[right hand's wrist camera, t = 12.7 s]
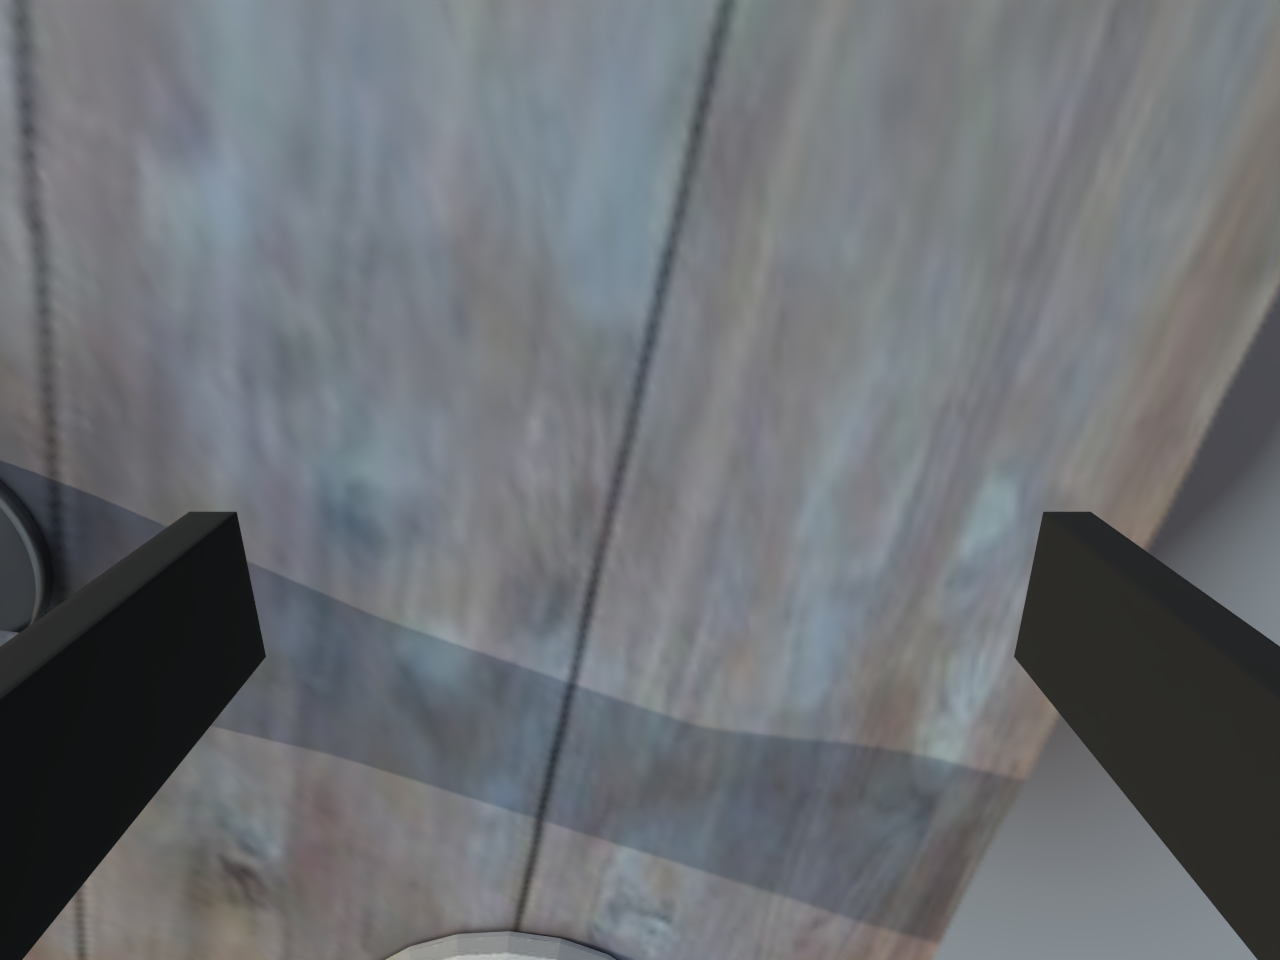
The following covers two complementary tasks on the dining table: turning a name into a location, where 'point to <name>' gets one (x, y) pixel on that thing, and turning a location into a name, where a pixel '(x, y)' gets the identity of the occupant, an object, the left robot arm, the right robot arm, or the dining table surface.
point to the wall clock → (499, 948)
